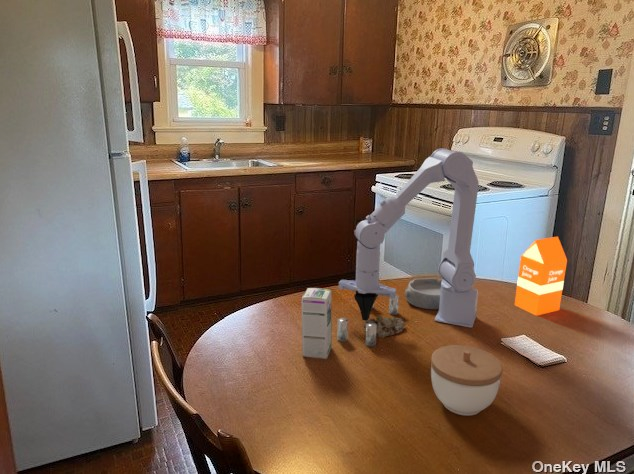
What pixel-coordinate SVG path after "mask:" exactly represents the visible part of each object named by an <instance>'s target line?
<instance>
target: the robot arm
mask: <svg viewBox="0 0 634 474" xmlns="http://www.w3.org/2000/svg"><path fill="white" fill-rule="evenodd" d="M473 165H474V162H473V160H472V159H470V157H468V156H467V155H466V154H465V153H464V152H461V151H454V150H451V149H448V148H445V147H444V148H443V147H442V148H437V149H435V150H434V151H433V152H432V154H430V156H428V157H426V159H424V161H423V163H422V164H421V166H420V168H418V169H417V171H416V172H415V173H414V174H413V175H412V176H411V178H409V180H408V181H407V182H406V183H405V184H404V186H403V187H401V189H400V190H399V191H398V192H397V194H396V195H394V196H387V197H386V198H385V199H383V198H382V199H381V200H380V201H379V206H378V207H377V208H376V209H375V210H374V211H373V212H372V213H371V214H368V215H367V216H365V219H364V220H361V221H360V222H358V223H357V225H356V227H355V228H356V229H354V230H353V232H354V236H355V238H356V239H357V242H356V244H357V245H356V258H355V259H356V261H355V262H356V263H355V264H356V265H355V280H347V279H341V280H340V281H338V290H348V291H355V293H354V295H353V297H354V300H355V302H356V303H357V305H358V309H359V311H360V315H361V320H362V321H363V322H366V321H368V320H370V315H371V313H372V310H373V309H372V306H373V304H374V303H375V301H376V300H377V298H378V297H379V296H382V297H388V298H389V299H390V298H392V299H394V298H395V297H396V294H397V288H394V287H390V286H386V285H384V284H381V283H380V278H379V277H380V264H381V262H380V261H381V245H382V244H383V243H384V240H385V235H386V233H388V232H389V231H390V230H391V228H392V227H393V226H394V225H395V224H396V223H397V222H398V221H400V219H401V218H403V216H404V215H405V214H406V206H407V205H408V204H409V203H410V202H411V201H413V199H414V198H416V197H417V196H418V195H419V194H420V193H421V192H422V191H423V190H424V189H425V188H426V187H428V186H429V185H430V184H433V183H439V182H440V183H441V182H445V181H447V182H448V183H450V185H452V187H453V188H454V191H453V192H454V194H453V203H452V211H451V218H450V219H451V220H450V221H451V222H450V226H449V227H450V228H449V238H448V245H447V249H446V250H445V251H444V252H443V255H442V259H441V260H440V262H439V264H438V267H437V269H438V270H437V271H438V274H439V276H440V277H441V279H442V282H441V292H440V304H439V309H438V311H437V312H436V313H437V314H436V316H435V317H434V322H440V323H445V324H450V325H454V326H455V325H456V326H460V327H466V328H474V327H473V326H474V324H475V321H476V318H477V315H478V310H477V309H478V299H479V290H478V289H475V288H473V287H474V285H475V284H476V281H477V275H476V272H475V262H474V259H473V256H472V255H471V247H472V241H473V240H472V238H473V231H474V223H475V215H476V207H477V202H478V201H477V200H478V191H479V179H478V177H477V174H476V172H475V170H474V167H473Z"/></svg>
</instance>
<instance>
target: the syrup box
mask: <svg viewBox="0 0 634 474" xmlns="http://www.w3.org/2000/svg"><path fill="white" fill-rule="evenodd" d="M300 302H301V344H302V345H301V346H302V347H301V350H302V352H301V353H302V357H306V358H311V359H323V360H327V359H328V357H329V355H330V352H331V348H332V347H333V346H332V342H333V341H332V338H333V337H332V335H333V334H332V329H333V328H332V326H333V325H332V324H333V323H332V321H333V320H332V316H333V315H332V290H331V289H329V288H322V287H307V288H306V290H305V292H304V293H303V294H302V297H301V301H300Z"/></svg>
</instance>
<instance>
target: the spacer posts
mask: <svg viewBox="0 0 634 474" xmlns="http://www.w3.org/2000/svg"><path fill="white" fill-rule="evenodd" d="M399 301H400V295H399V294H398V293H396V297H395V298H394V299H392V298H390V297H389V302H388V303H389V304H388V314H390V315H392V316H395V315H398V314H399ZM374 306H375V305H374V304H373V306H372V309H371V310H373V309H375V307H374ZM336 322H337V323H336V324H337V325H336V326H337V330H336V331H337V332H336V333H337V334H336V340H337V341H339V342H347V340H348V324H349V323H348V318H345V317H340V318H337V321H336ZM376 330H377V325H376V324H375V323H367V324H366V330H365V346H367V347H369V348H370V347H371V348H374V347H376V345H377V336H376Z"/></svg>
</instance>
